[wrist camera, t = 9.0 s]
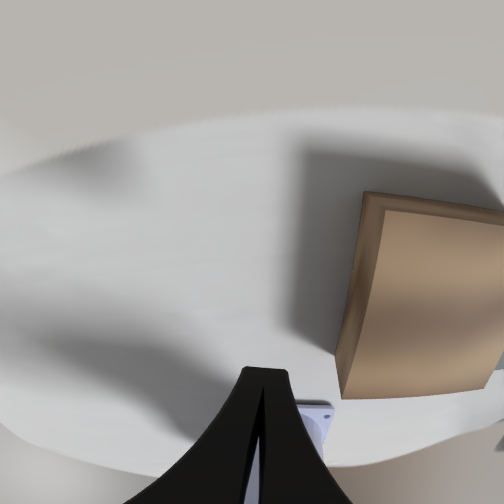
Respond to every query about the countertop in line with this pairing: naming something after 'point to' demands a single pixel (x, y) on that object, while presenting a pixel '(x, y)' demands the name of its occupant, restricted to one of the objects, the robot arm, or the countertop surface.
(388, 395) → the block
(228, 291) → the countertop surface
